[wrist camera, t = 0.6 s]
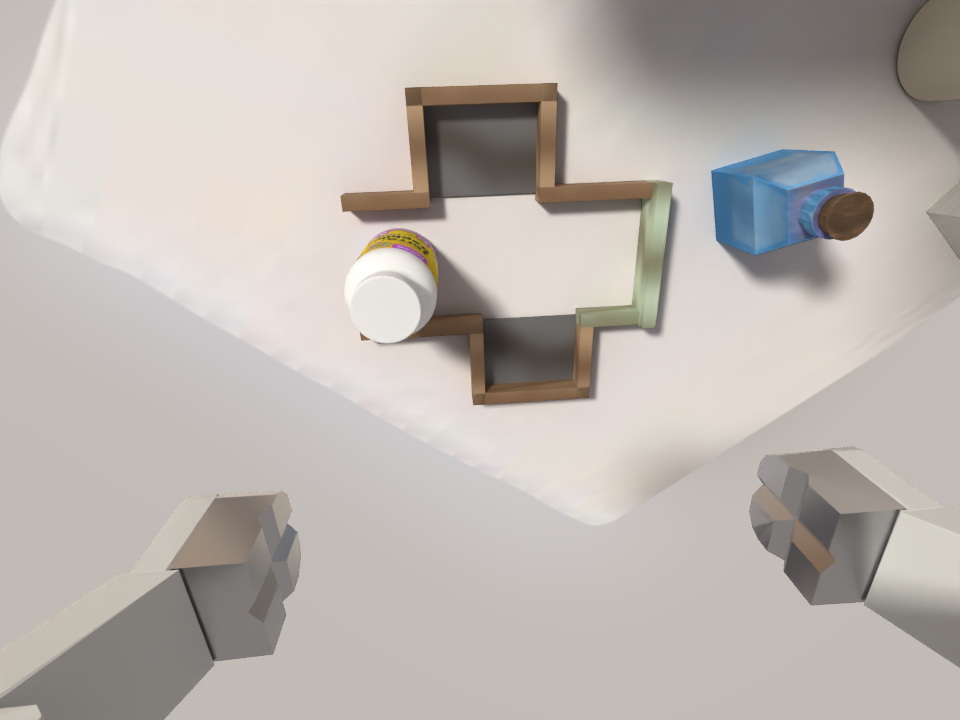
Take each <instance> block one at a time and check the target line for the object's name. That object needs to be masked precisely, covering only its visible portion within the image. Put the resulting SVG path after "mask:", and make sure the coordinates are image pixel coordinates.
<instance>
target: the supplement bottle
mask: <svg viewBox="0 0 960 720" xmlns="http://www.w3.org/2000/svg"><path fill="white" fill-rule="evenodd" d="M437 289H438V260H437V256H436V253H435V251H434V249H433V247H432V246H431V244H430V243H429V242H428V241H427V240H426V239H425V238H424V237H423V236H421V235H420V234H418V233H416V232H414V231H412V230H408V229H403V228H395V229H389V230H386V231H383V232H381V233H380V234H378V235H377V236H375V237H374V238H373V239H372V240H371V241H370V242H369V243H368V245H367V246H366V248H365V249H364V250H363V252H362V253H361V255H360V256H359V258H358V259H357V260H356V262H355V263H354V264H353V266H352V267H351V269H350V270H349V272H348V275H347V277H346V281H345V286H344V298H345V303H346V306H347V309H348V311H349V313H350V315H351V319H352V321H353V323H354V325H355V327H356V328H357V329H358V330H359V331H360V333H362V334H363V335H364V336H365V337H367V338H369V339H371V340H373V341H375V342H379V343H396V342H399V341H402V340H404V339H406V338H407V337H409V336H410V335H411V334H414V333H415V332H417V331H419V330H420V329H421V328H422V327H424V326H425V325H426V323H427V322H428V321H429V320H430V318H431V317H432V315H433V312H434V310H435V307H436V302H437Z"/></svg>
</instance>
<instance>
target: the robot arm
mask: <svg viewBox="0 0 960 720" xmlns="http://www.w3.org/2000/svg"><path fill="white" fill-rule="evenodd" d="M757 475H758V477H759V478H760V480H761V481H762V483H763V485H762V486H761V487H760V488H759V489H758V490H757V491H756V492H755V494H754V495H753V496H752V501H751V506H750V516H751V522H752V527H753V529H754V531H755V534H756V535H757V538H758V540H759V541H760V542H761V543H762V545H763V546H764V547H765V549H766V550H767V551H769V552H770V553H772V554H774V555H776V556H778V557H780V558H781V559H783V560H784V572H785V574H786V575H787V576H788V577H789V579H790V580H791V581H792V582H793V584H794V585H795V586H796V587H797V589H798V590H799V591H800V592H801V594H802V595H803V596H804V597H805V599H806V600H807V601H808V602H809V603H810V605H823V604H839V603H855V602H865V603H864V605H865V606H867V607H868V608H870V609H871V610H873V611H874V612H876V613H877V614H879V615H880V616H882V617H883V618H885V619H886V620H888V621H889V622H891V623H893V624H894V625H895V626H897V627H898V628H900V629H902V630H903V631H905V632H906V633H908V634H909V635H911V636H912V637H914V638H915V639H917V640H918V641H920V642H921V643H923V644H924V645H926V646H927V647H929V648H930V649H932V650H934V651H935V652H936V653H938V654H940V655H941V656H943V657H944V658H946V659H947V660H949V661H950V662H952V663H953V664H955V665H956V666H958V667H959V668H960V509H958V508H955V507H952V506H951V507H942V506H940V505H939V504H937V503H936V502H935V501H933V500H932V499H931V498H929V497H928V496H926V495H925V494H924V493H922V492H921V491H920V490H918V489H917V488H915V487H914V486H913V485H911V484H910V483H908V482H907V481H906V480H904V479H903V478H902V477H900V476H899V475H897V474H896V473H895V472H893V471H892V470H890V469H889V468H888V467H886V466H885V465H884V464H882V463H881V462H879V461H878V460H877V459H875V458H874V457H872V456H871V455H870V454H868V453H867V452H865V451H864V450H862V449H859V448H855V447H842V448H833V449H824V450H822V451H811V452H799V453H786V454H773V455H766V456H765V457H764V458H763V460H762V461H761V463H760V466H759V470H758V474H757ZM291 512H292V508H291V505H290V502H289V498H288V495H287V494H286V493H285V492H283V491H270V492H269V491H268V492H249V493H230V494H221V495H218V494H216V495H203V496H190V497H188V498H186V499H184V500H182V502H181V503H180V504H179V506H178V507H177V508H176V510H175V511H174V512H173V514H172V515H171V517H170V518H169V519H168V521H167V522H166V523H165V525H164V526H163V528H162V529H161V530H160V532H159V533H158V534H157V536H156V537H155V539H154V540H153V541H152V543H151V544H150V546H149V547H148V548H147V550H146V551H145V552H144V554H143V555H142V556H141V558H140V559H139V561H138V562H137V563H136V565H135V566H134V567H133V569H132V570H131V572H130V573H129V574H121V575H117V576H115V577H114V578H112V579H111V580H109V581H108V582H106V583H104V584H103V585H101V586H100V587H98V588H97V589H95V590H93V591H92V592H90V593H89V594H87V595H86V596H84V597H82V598H81V599H79V600H78V601H76V602H75V603H73V604H72V605H70V606H68V607H67V608H66V609H64V610H62V611H61V612H59V613H57V614H56V615H54V616H53V617H51V618H50V619H48V620H47V621H45V622H43V623H42V624H40V625H39V626H37V627H36V628H34V629H32V630H31V631H29V632H28V633H26V634H25V635H23V636H22V637H20V638H18V639H17V640H15V641H14V642H12V643H11V644H9V645H8V646H6V647H4V648H3V649H2V650H0V720H164V719H165V718H166V717H167V716H168V715H169V713H170V712H171V711H172V710H173V709H174V708H175V707H176V706H177V705H178V704H179V703H180V702H181V701H182V699H183V698H184V697H185V696H186V695H187V694H188V693H189V692H190V691H191V690H192V689H193V687H194V686H195V685H196V684H197V683H198V682H199V681H200V680H201V679H202V678H203V677H204V676H205V675H206V673H207V672H208V671H209V670H210V669H211V668H212V667H213V666H214V661H222V660H230V659H239V658H247V657H255V656H264V655H272V654H273V653H274V650H275V647H276V644H277V641H278V638H279V635H280V631H281V629H282V626H283V623H284V620H285V617H286V612H285V609H284V605H283V601H284V600H285V599H286V598H287V597H288V596H289V595H290V594H291V593H292V592H293V591H294V589H295V586H296V583H297V580H298V576H299V568H300V560H301V553H300V542H299V537H298V533H297V531H295V529H293V528H292V527H291V526H290V525H288V524H287V522H288V520H289V517H290V515H291Z"/></svg>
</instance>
